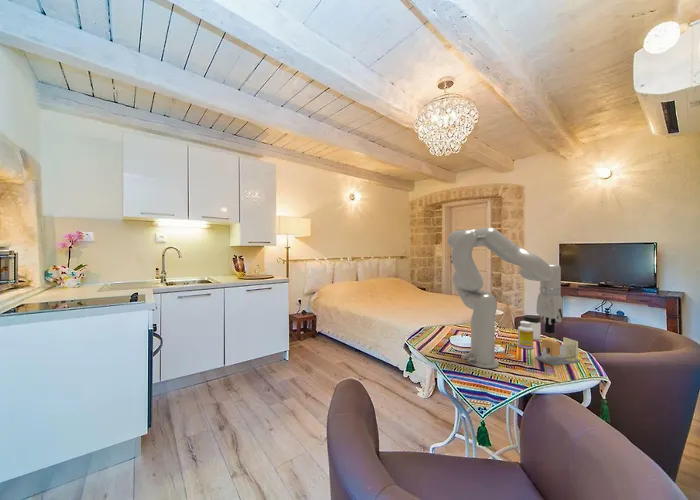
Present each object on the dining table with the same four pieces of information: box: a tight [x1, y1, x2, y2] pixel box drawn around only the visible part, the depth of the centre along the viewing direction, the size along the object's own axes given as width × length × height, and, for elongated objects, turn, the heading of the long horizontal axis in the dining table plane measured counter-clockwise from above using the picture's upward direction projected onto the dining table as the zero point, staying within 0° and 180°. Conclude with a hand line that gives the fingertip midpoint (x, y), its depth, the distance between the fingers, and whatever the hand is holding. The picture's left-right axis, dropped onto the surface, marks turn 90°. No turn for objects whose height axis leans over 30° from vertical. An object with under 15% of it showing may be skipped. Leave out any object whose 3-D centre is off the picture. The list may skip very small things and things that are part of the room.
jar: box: [522, 314, 542, 341], centre depth 162 cm, size 9×8×12 cm
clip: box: [541, 338, 561, 356], centre depth 127 cm, size 4×5×6 cm
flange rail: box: [535, 337, 581, 367], centre depth 128 cm, size 16×8×9 cm, turn 105°
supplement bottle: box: [517, 320, 534, 350], centre depth 146 cm, size 7×7×13 cm
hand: (549, 332), depth 127 cm, fingers closed
